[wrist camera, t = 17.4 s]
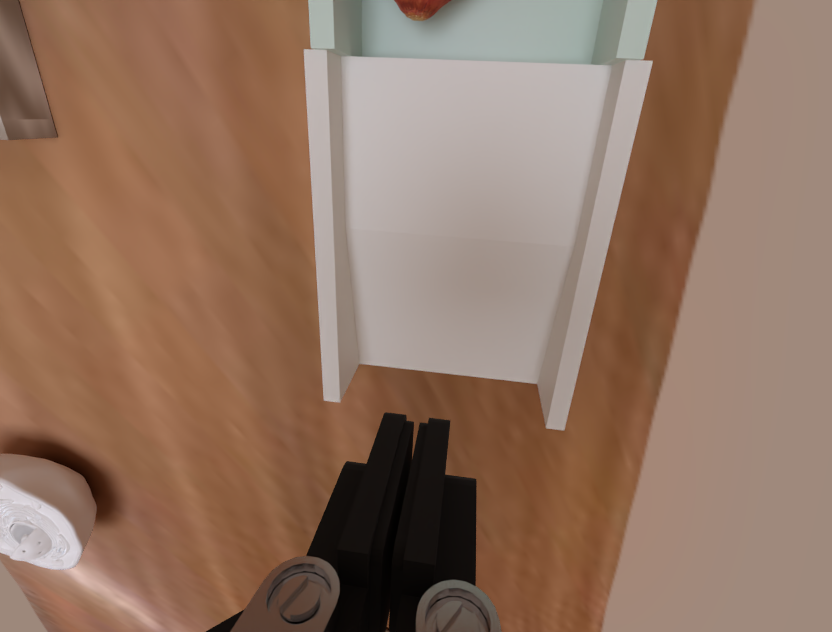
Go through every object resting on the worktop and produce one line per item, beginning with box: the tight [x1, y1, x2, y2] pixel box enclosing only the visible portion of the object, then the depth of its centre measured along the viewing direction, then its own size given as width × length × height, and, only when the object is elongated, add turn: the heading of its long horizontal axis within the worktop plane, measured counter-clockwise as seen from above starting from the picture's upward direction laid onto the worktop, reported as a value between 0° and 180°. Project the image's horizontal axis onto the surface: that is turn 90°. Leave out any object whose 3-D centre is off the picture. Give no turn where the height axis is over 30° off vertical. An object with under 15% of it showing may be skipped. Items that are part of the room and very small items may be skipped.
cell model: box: [0, 454, 97, 570], centre depth 37 cm, size 10×12×7 cm
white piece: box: [304, 49, 653, 430], centre depth 24 cm, size 18×14×6 cm
